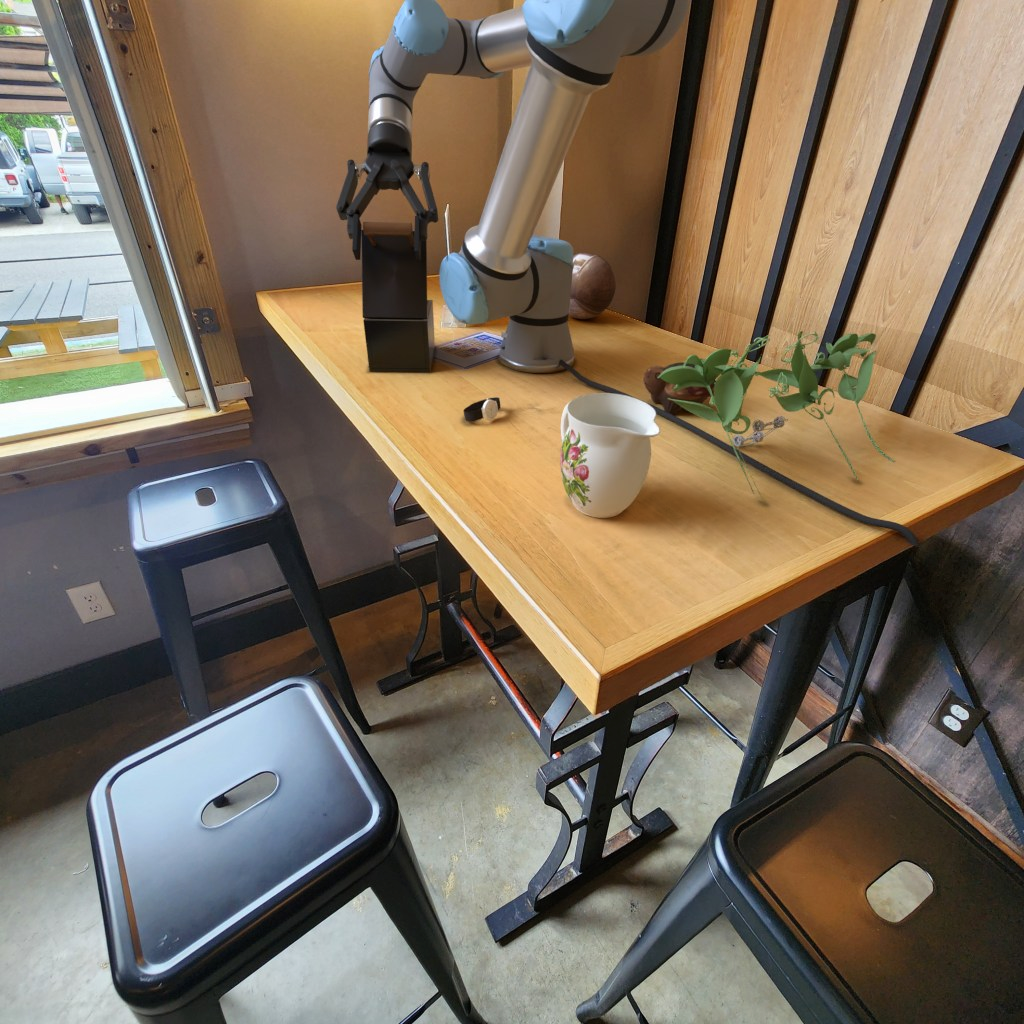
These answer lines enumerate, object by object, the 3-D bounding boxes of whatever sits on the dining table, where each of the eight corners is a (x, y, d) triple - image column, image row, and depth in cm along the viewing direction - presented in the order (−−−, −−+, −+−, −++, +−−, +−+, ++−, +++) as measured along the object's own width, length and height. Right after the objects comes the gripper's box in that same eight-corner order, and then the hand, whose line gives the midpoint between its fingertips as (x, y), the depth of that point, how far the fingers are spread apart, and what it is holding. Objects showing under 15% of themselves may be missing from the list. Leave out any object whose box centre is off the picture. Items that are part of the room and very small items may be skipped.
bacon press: (361, 231, 102) (351, 209, 94) (426, 233, 103) (421, 211, 95) (363, 318, 103) (353, 304, 95) (427, 319, 104) (422, 305, 96)
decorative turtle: (624, 402, 101) (633, 357, 97) (694, 397, 106) (705, 354, 102) (655, 422, 93) (666, 374, 89) (729, 416, 98) (742, 370, 94)
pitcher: (591, 460, 83) (602, 369, 75) (671, 526, 70) (695, 425, 62) (525, 475, 79) (530, 382, 71) (597, 549, 66) (612, 444, 58)
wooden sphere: (544, 322, 138) (548, 256, 130) (559, 306, 150) (564, 245, 141) (605, 330, 134) (613, 262, 126) (616, 313, 146) (624, 250, 138)
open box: (380, 346, 121) (375, 298, 115) (434, 347, 121) (432, 299, 116) (369, 372, 109) (363, 320, 103) (430, 372, 110) (427, 321, 104)
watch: (478, 428, 90) (478, 407, 88) (456, 420, 93) (455, 399, 91) (507, 413, 96) (508, 392, 94) (485, 405, 98) (485, 385, 96)
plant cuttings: (857, 492, 91) (801, 372, 97) (960, 446, 75) (886, 307, 81) (674, 536, 80) (622, 398, 86) (750, 493, 64) (681, 327, 70)
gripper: (454, 157, 103) (454, 270, 99) (331, 153, 101) (325, 267, 97) (452, 122, 95) (452, 242, 91) (319, 117, 94) (313, 239, 90)
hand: (387, 255), depth 94 cm, fingers open, 9 cm apart
